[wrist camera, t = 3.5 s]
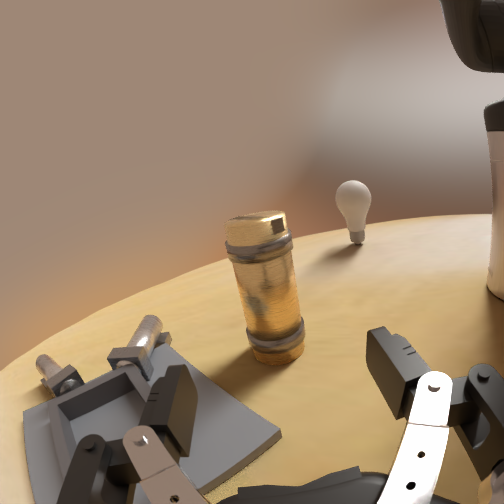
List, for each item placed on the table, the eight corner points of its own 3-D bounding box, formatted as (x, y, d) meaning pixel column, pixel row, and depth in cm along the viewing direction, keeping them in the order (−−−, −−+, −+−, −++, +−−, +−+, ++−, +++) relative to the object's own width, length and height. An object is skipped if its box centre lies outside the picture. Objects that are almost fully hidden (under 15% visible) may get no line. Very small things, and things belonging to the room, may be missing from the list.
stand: (282, 436, 15) (275, 410, 14) (61, 555, 4) (27, 537, 3) (169, 350, 27) (159, 326, 26) (28, 418, 16) (11, 396, 15)
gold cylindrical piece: (317, 342, 24) (301, 210, 20) (280, 374, 21) (251, 229, 17) (278, 327, 28) (256, 210, 24) (241, 353, 25) (208, 226, 21)
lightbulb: (366, 236, 49) (360, 177, 46) (380, 245, 43) (374, 179, 40) (336, 242, 49) (328, 181, 46) (347, 252, 43) (339, 184, 40)
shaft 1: (95, 399, 20) (76, 369, 19) (72, 418, 17) (50, 388, 16) (63, 373, 24) (48, 346, 23) (44, 387, 21) (28, 360, 20)
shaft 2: (154, 388, 21) (137, 356, 20) (124, 389, 21) (106, 358, 20) (171, 339, 29) (160, 310, 28) (146, 342, 29) (134, 314, 28)
